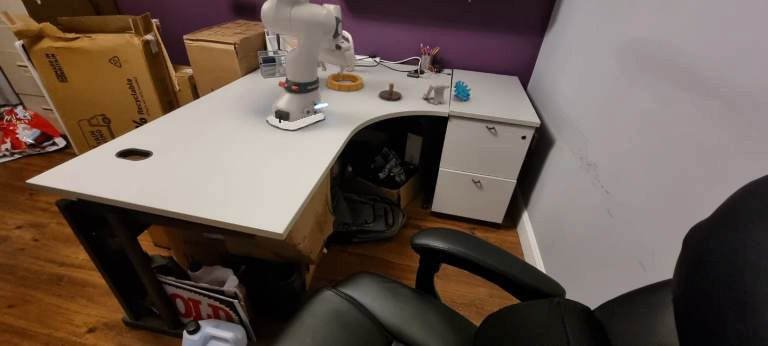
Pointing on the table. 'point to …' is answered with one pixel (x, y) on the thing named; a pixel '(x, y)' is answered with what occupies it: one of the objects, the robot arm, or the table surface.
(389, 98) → the ring stand
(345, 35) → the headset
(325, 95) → the table surface
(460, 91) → the gear
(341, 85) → the mustard ring
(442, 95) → the tablet stand
